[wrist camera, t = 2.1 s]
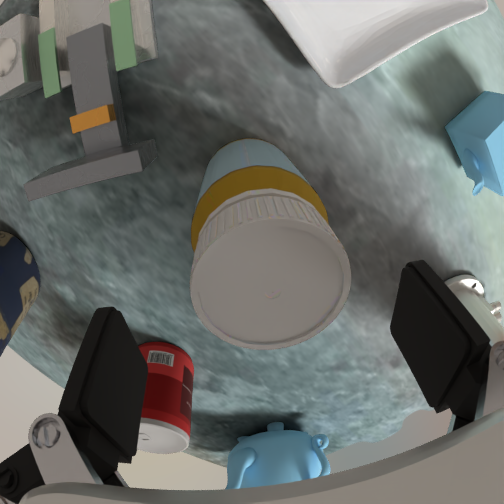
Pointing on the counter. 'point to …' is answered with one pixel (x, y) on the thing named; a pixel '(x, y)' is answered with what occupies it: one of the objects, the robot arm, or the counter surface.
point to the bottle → (264, 251)
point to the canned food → (166, 399)
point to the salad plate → (364, 30)
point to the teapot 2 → (481, 141)
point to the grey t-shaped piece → (94, 120)
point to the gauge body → (55, 46)
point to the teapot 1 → (276, 458)
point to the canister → (15, 285)
